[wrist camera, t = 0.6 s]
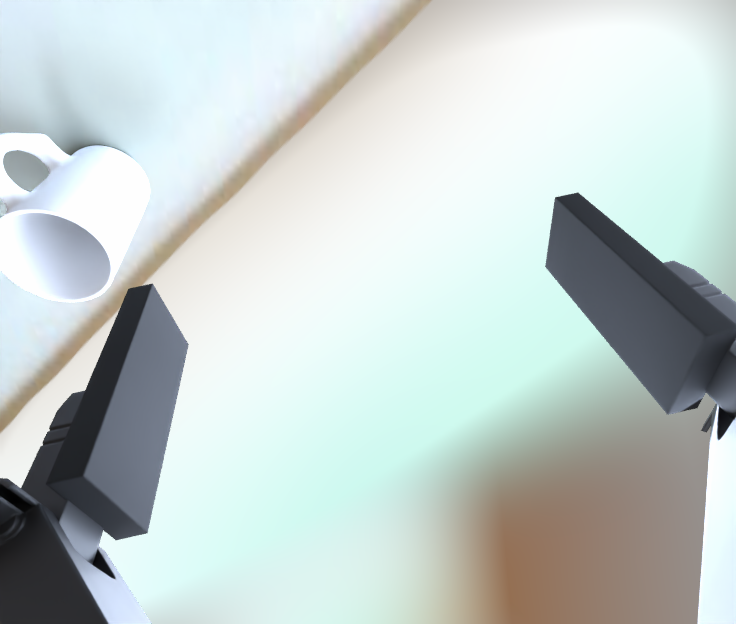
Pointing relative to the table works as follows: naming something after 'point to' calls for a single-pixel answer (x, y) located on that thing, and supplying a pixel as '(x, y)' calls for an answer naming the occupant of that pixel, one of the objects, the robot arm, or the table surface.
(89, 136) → the table surface
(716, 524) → the robot arm
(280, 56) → the table surface
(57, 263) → the mug
